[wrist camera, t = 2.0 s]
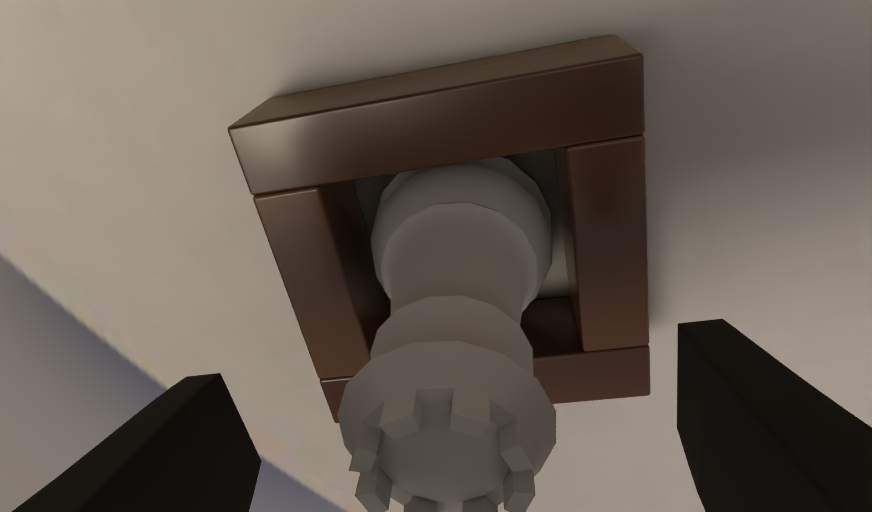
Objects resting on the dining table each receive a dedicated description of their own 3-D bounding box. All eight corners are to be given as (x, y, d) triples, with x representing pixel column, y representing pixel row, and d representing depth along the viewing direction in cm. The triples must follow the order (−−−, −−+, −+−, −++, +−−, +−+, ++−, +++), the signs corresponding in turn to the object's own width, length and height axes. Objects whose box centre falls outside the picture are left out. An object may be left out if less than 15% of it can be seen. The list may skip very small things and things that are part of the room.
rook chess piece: (408, 313, 16) (348, 597, 9) (351, 168, 14) (220, 387, 7) (566, 279, 15) (635, 565, 8) (529, 119, 13) (578, 314, 6)
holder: (628, 334, 16) (651, 396, 14) (353, 363, 17) (334, 424, 15) (615, 33, 12) (644, 52, 10) (267, 98, 13) (225, 127, 11)
